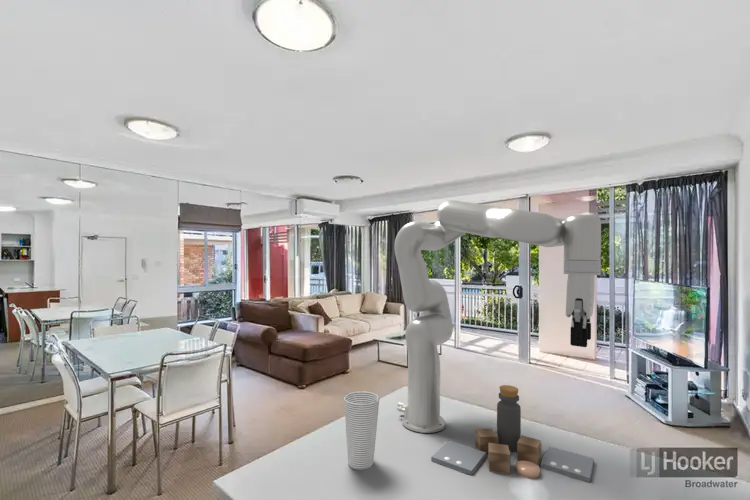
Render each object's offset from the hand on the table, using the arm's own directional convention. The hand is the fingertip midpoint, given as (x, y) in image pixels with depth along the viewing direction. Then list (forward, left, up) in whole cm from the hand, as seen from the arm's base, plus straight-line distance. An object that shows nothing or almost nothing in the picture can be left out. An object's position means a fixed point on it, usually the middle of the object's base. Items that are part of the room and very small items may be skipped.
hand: (581, 342), depth 85 cm
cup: (-43, -27, -30) cm, 59 cm away
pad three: (-3, +2, -30) cm, 30 cm away
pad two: (-25, -11, -30) cm, 40 cm away
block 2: (-16, -9, -30) cm, 35 cm away
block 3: (-11, -1, -30) cm, 32 cm away
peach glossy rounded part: (-10, -7, -30) cm, 33 cm away
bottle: (-17, +3, -30) cm, 35 cm away
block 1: (-21, -2, -30) cm, 37 cm away
